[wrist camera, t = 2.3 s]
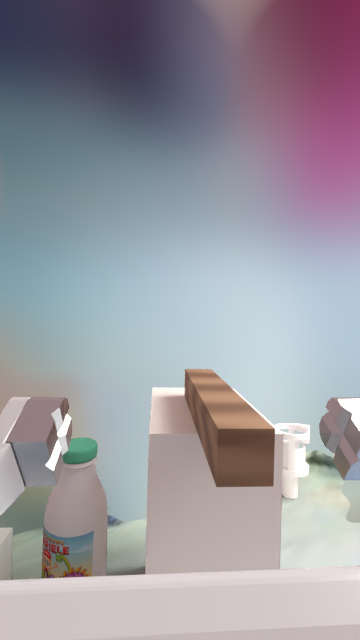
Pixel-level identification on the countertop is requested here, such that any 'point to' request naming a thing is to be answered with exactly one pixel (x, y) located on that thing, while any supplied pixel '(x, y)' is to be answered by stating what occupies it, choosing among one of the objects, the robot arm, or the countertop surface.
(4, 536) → the box
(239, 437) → the walnut rail
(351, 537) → the countertop surface
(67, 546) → the milk bottle
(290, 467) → the white plastic fitting
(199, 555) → the white box
